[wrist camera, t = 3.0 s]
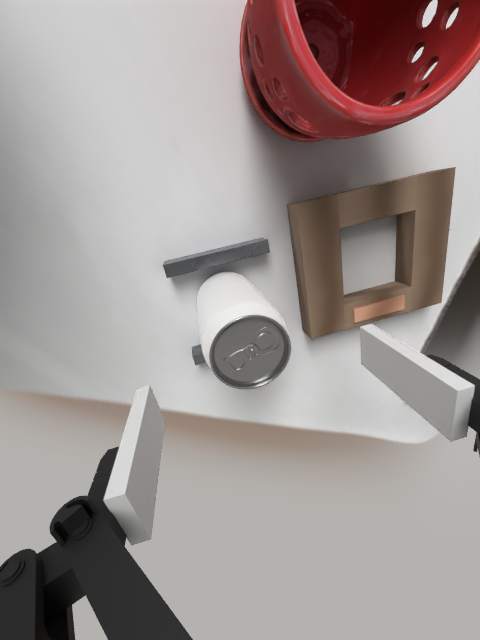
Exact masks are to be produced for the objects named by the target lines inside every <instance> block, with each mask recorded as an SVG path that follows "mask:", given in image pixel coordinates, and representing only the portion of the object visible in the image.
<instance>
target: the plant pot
mask: <svg viewBox="0 0 480 640" xmlns="http://www.w3.org/2000/svg"><path fill="white" fill-rule="evenodd" d="M431 1H432V0H248V1H247V4H246V7H245V10H244V14H243V19H242V25H241V32H240V64H241V70H242V75H243V79H244V83H245V87H246V90H247V93H248V95H249V97H250V100H251V102H252V104H253V106H254V107H255V109H256V111H257V112H258V114H259V115H260V116H261V118H262V119H263V120H264V121H265V122H266V123H267V124H268V125H269V126H270V127H271V128H272V129H273V130H275V131H276V132H277V133H279V134H280V135H282V136H284V137H286V138H289V139H292V140H296V141H302V142H314V141H319V140H323V139H346V138H353V137H359V136H364V135H368V134H372V133H376V132H379V131H382V130H385V129H388V128H392V127H394V126H397V125H399V124H402V123H404V122H407V121H409V120H411V119H414V118H416V117H418V116H420V115H421V114H423V113H425V112H427V111H428V110H430V109H431V108H433V107H434V106H435V105H437V104H438V103H439V102H441V101H442V100H443V99H445V98H446V97H447V96H448V95H449V94H450V93H451V92H452V91H454V90H455V89H456V88H457V87H458V85H459V84H460V83H461V82H462V81H463V80H464V79H465V78H466V76H467V75H468V74H469V73H470V72H471V70H472V69H473V68H474V67H475V65H476V64H477V62H478V61H479V60H480V0H438V5H437V10H436V14H435V15H434V17H433V19H432V21H431V23H430V24H429V25H428V26H427V27H424V28H423V26H422V19H423V15H424V12H425V10H426V8H427V6H428V5H429V3H430V2H431ZM458 7H459V10H458V13H457V16H456V18H455V20H454V22H453V23H452V25H451V26H450V27H449V28H447V29H446V24H447V21H448V19H449V17H450V15H451V14H452V13H453V11H454V10H455V9H456V8H458ZM423 46H424V49H423V52H422V54H421V56H420V57H419V58H418V59H417V60H416V61H415V62H413V63H411V62H412V59H413V57H414V55H415V54H416V52H417V51H418V50H419V49H420V48H421V47H423ZM436 62H438V63H437V65H436V66H435V67H434V69H433V70H432V71H431V73H430V74H429V75H428V76H427V77H426V78H425V79H424V80H422V79H423V77H424V75H425V74H426V73H427V71H428V70H429V68H430V67H431V66H432V65H433V64H434V63H436ZM400 100H402V101H401V102H400V103H399V104H398V105H393V106H391V105H392V104H394V103H396V102H398V101H400Z"/></svg>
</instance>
